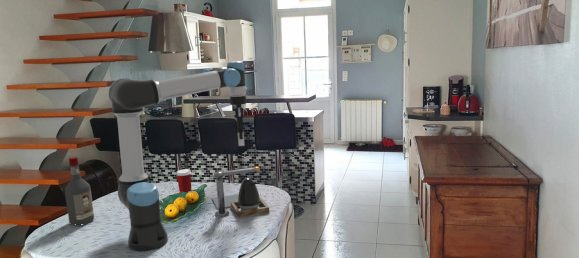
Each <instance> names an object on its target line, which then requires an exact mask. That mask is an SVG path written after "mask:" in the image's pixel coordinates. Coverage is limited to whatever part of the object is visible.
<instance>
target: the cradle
mask: <svg viewBox="0 0 579 258" xmlns="http://www.w3.org/2000/svg"><path fill="white" fill-rule="evenodd" d="M259 197H260V196H259ZM259 206H261V207H258V208H256V209H250V210H244V211H243V210H239V208H240V206H239V204H238V201H235V202H231V207H230V208H231V209H232V211H233V213H234V214H235V216H236V218H237V219H238V218H244V217H251V216H257V215H262V214H269V213H270V207H269V206H268V204H267V203H266V202H265V200H263V198H262V197H260V203H259Z"/></svg>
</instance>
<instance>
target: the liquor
mask: <svg viewBox="0 0 579 258" xmlns="http://www.w3.org/2000/svg"><path fill="white" fill-rule="evenodd" d="M68 162H69V168H70V176H71V178H70V181H69V182H68V183H67V185H66V186H65V188H64V196H65V202H66V209H67V216H68V223H69V224H70V223H71V224H70V225H72V224H76V225H75V226H77V225H80V226H82V225H81V224H85V225H87V224H89V223H92V222H94V219H95V212H94V206H93V205H94V204H93V197H92V191H91V185H90V183H88V182H87V181H86V180H84V179H83V178H82V176H81V173H80V166H79V164H80V163H79V158H78V156H74V157H73V156H72V157H69V158H68ZM91 221H92V222H91ZM88 222H89V223H88ZM86 223H87V224H86Z"/></svg>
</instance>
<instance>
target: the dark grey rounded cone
mask: <svg viewBox="0 0 579 258" xmlns="http://www.w3.org/2000/svg"><path fill="white" fill-rule="evenodd" d="M257 184H258V182H257V181H254V180H253V179H252V178H249V177H247V178H244V179H243V180H242V182H241V184H240V186H239V190H238V194H239V195H238V204H239V206H240V207H239V208H240V209H241V211H244V210H250V209H256V208H259V206H260V204H259V203H260V194H259V190H258V187H257Z"/></svg>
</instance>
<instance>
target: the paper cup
mask: <svg viewBox="0 0 579 258" xmlns="http://www.w3.org/2000/svg"><path fill="white" fill-rule="evenodd" d="M175 175H176V179H177V185H178V191H179V194H180V193H182V192H188V191H191V192H192V171H191V169H187V168H185V169H180V170H177V171H176V173H175Z"/></svg>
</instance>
